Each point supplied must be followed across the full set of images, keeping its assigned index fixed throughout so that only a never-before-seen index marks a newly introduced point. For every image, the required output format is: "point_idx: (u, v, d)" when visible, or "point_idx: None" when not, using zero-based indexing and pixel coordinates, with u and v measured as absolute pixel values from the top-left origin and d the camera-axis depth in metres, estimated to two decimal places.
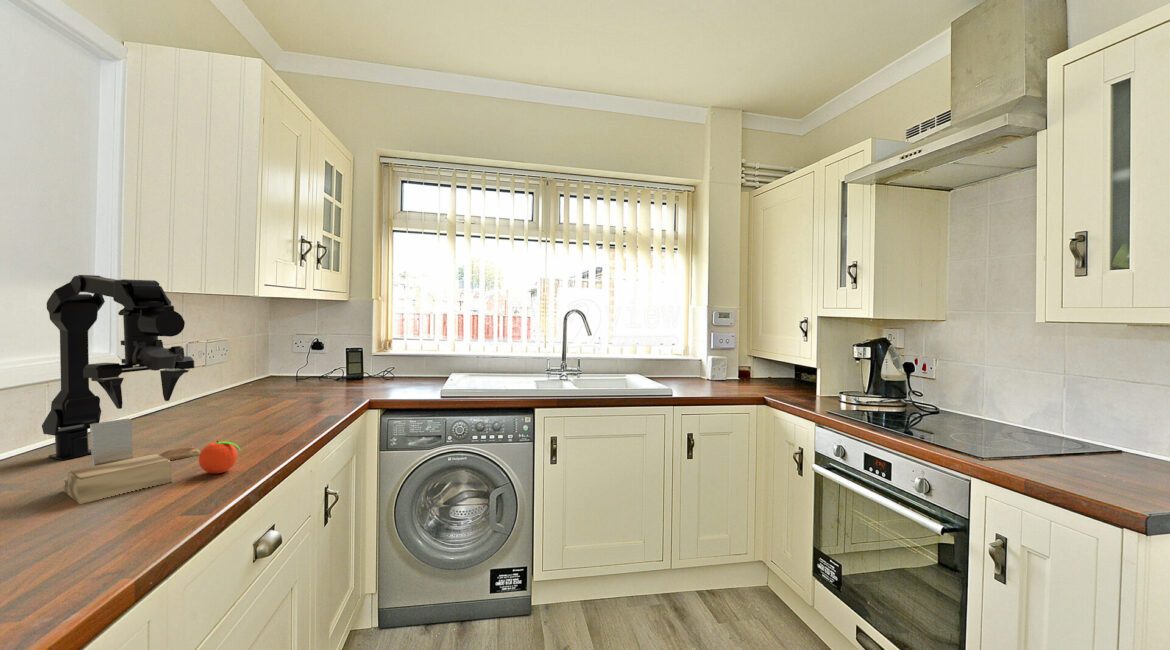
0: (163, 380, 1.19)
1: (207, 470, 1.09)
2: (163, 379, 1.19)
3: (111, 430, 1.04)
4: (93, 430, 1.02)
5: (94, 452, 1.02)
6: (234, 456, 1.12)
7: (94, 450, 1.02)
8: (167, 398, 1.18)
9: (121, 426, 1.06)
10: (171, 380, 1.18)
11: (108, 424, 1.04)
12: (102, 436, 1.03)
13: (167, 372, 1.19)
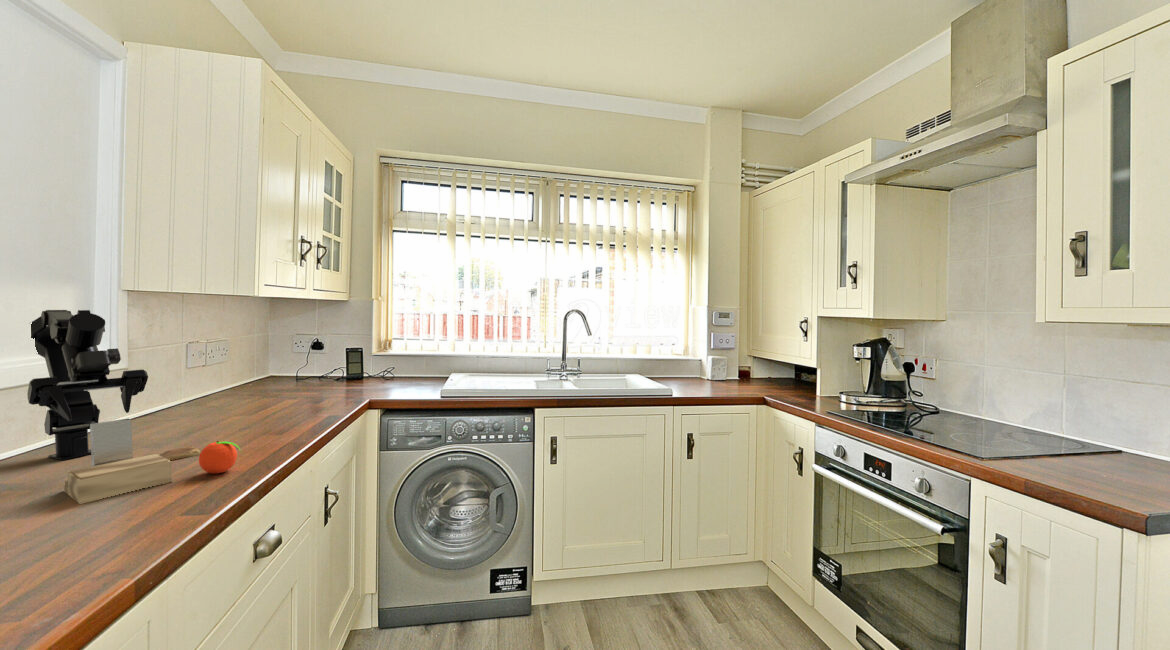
0: (122, 399, 1.16)
1: (207, 470, 1.09)
2: (122, 398, 1.16)
3: (111, 430, 1.04)
4: (93, 430, 1.02)
5: (94, 452, 1.02)
6: (234, 456, 1.12)
7: (94, 450, 1.02)
8: (126, 408, 1.13)
9: (121, 426, 1.06)
10: (125, 391, 1.15)
11: (108, 424, 1.04)
12: (102, 436, 1.03)
13: (123, 389, 1.16)
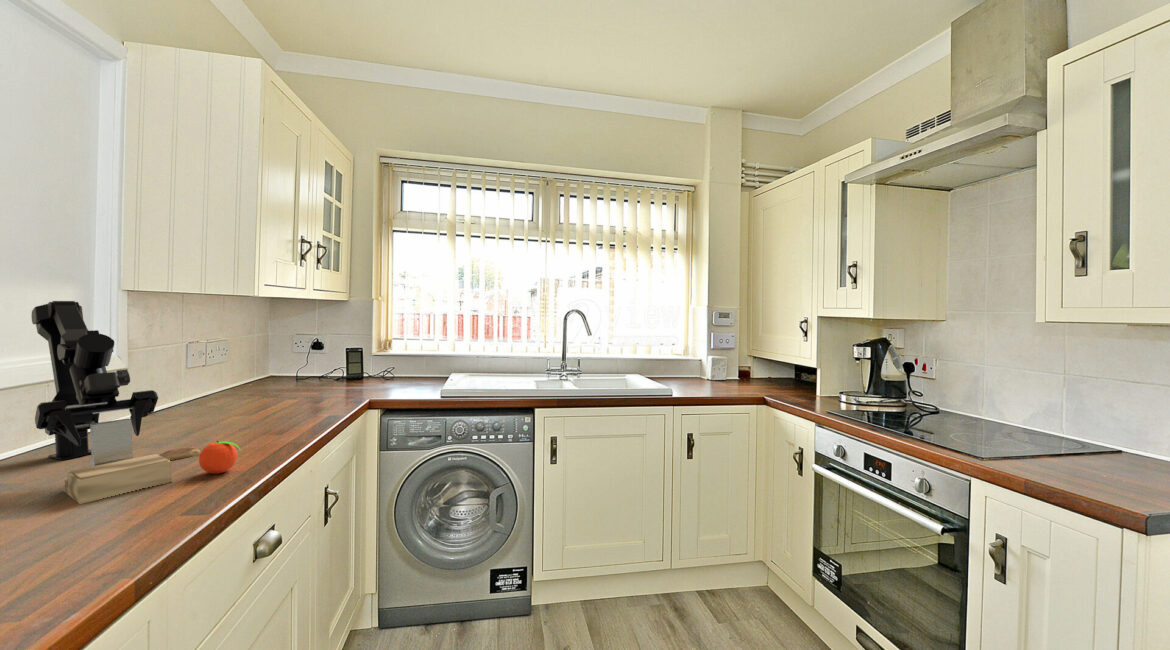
0: (132, 421, 1.12)
1: (207, 470, 1.09)
2: (132, 420, 1.12)
3: (111, 430, 1.04)
4: (93, 430, 1.02)
5: (94, 452, 1.02)
6: (234, 456, 1.12)
7: (94, 450, 1.02)
8: (136, 431, 1.10)
9: (121, 426, 1.06)
10: (135, 413, 1.11)
11: (108, 424, 1.04)
12: (102, 436, 1.03)
13: (132, 411, 1.13)
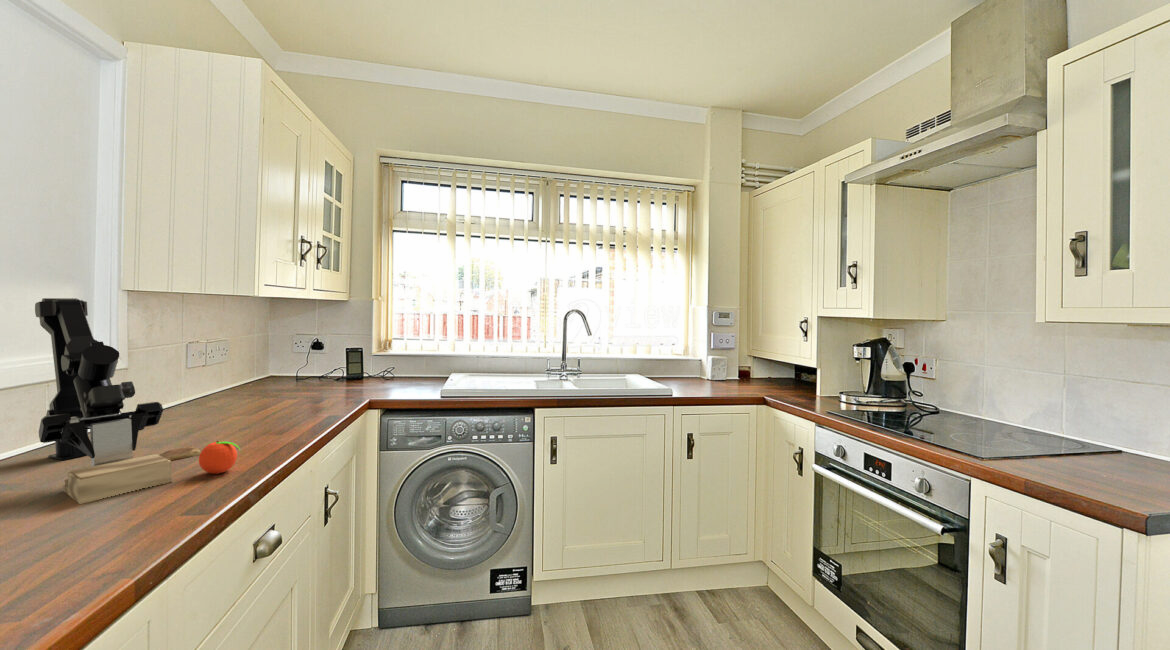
0: None
1: (207, 470, 1.09)
2: None
3: (111, 430, 1.04)
4: (93, 430, 1.02)
5: (94, 452, 1.02)
6: (234, 456, 1.12)
7: (94, 450, 1.02)
8: (133, 445, 1.07)
9: (121, 426, 1.06)
10: None
11: (108, 424, 1.04)
12: (102, 436, 1.03)
13: None
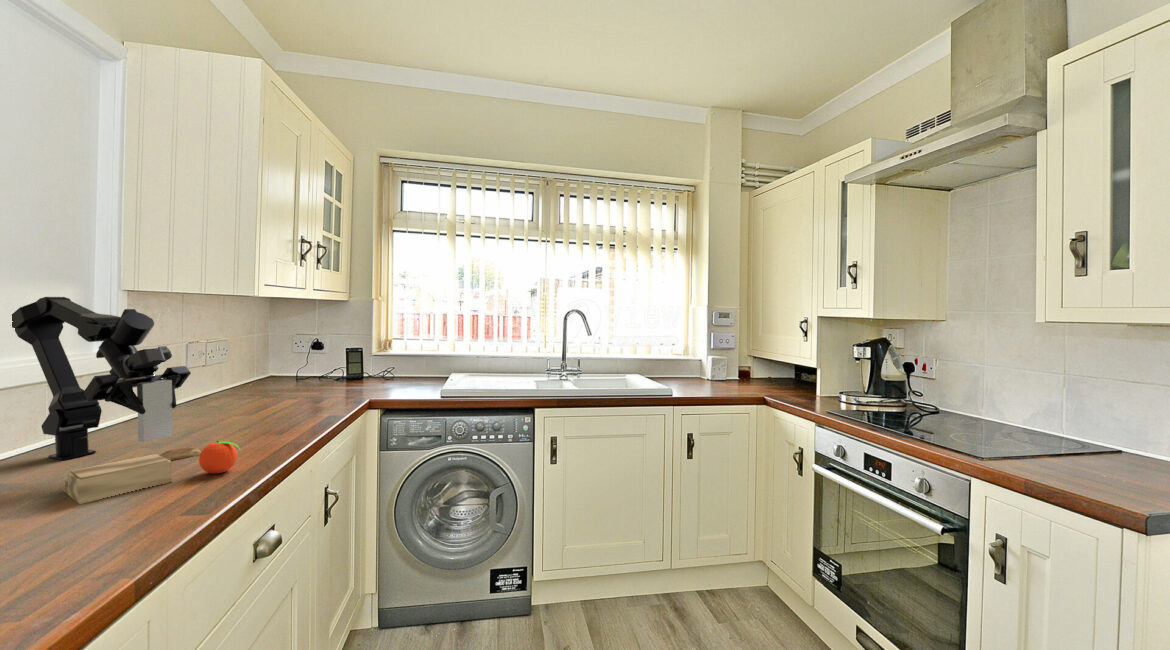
0: None
1: (207, 470, 1.09)
2: None
3: (156, 389, 1.14)
4: (143, 388, 1.12)
5: None
6: (234, 456, 1.12)
7: None
8: (173, 403, 1.17)
9: (164, 386, 1.16)
10: None
11: (154, 383, 1.14)
12: (149, 394, 1.13)
13: None
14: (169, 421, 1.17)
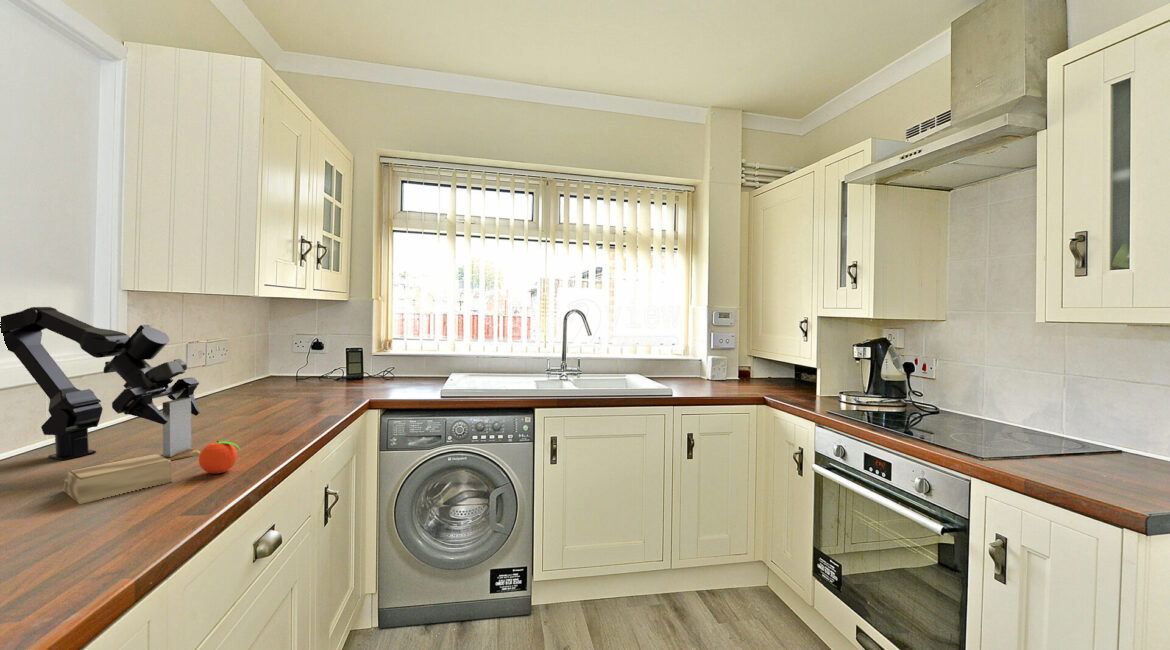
0: None
1: (207, 470, 1.09)
2: None
3: (180, 407, 1.22)
4: (169, 407, 1.20)
5: (170, 426, 1.20)
6: (234, 456, 1.12)
7: (170, 424, 1.20)
8: (197, 411, 1.27)
9: (185, 404, 1.24)
10: (189, 396, 1.27)
11: (178, 402, 1.22)
12: (175, 412, 1.21)
13: (180, 396, 1.28)
14: (188, 436, 1.25)
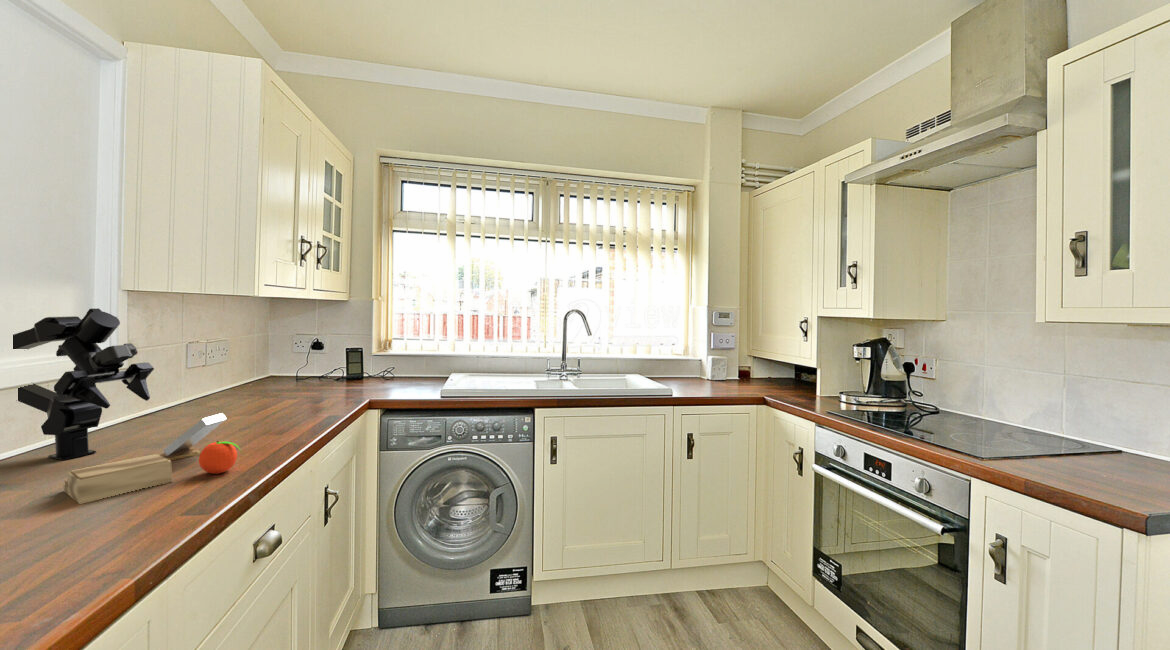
0: (134, 389, 1.27)
1: (207, 470, 1.09)
2: (133, 388, 1.27)
3: (211, 426, 1.22)
4: (203, 427, 1.19)
5: (189, 438, 1.20)
6: (234, 456, 1.12)
7: (191, 437, 1.20)
8: (147, 396, 1.26)
9: (217, 423, 1.24)
10: (140, 381, 1.26)
11: (213, 423, 1.21)
12: (203, 429, 1.21)
13: (133, 380, 1.27)
14: (196, 441, 1.25)
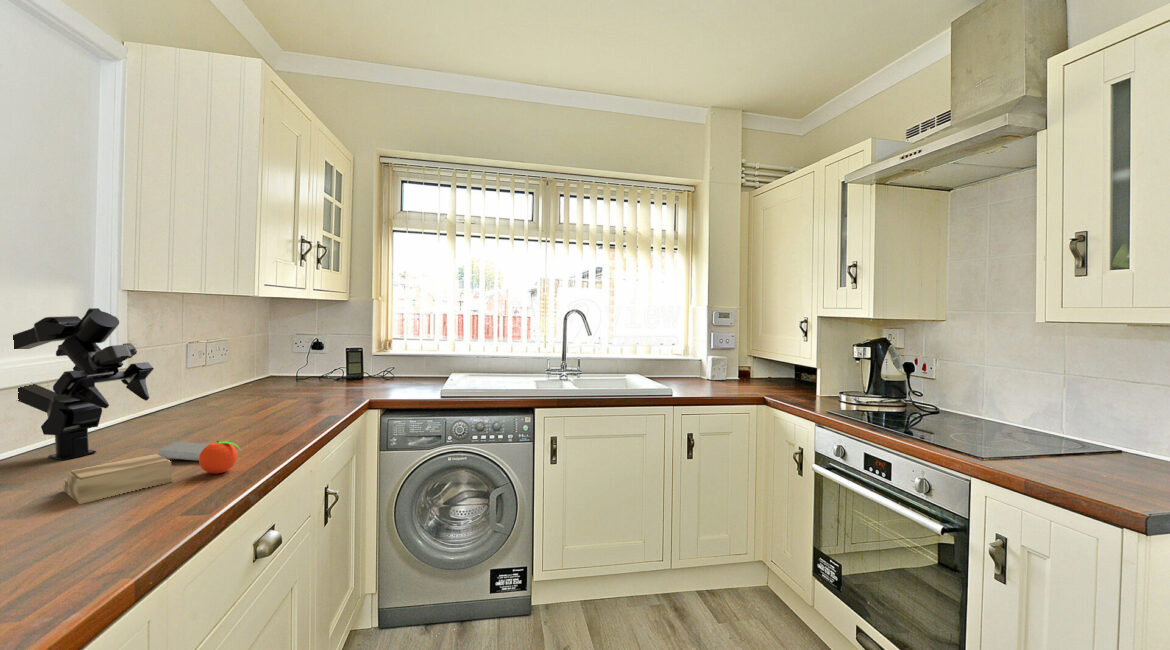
0: (133, 389, 1.27)
1: (207, 470, 1.09)
2: (133, 388, 1.27)
3: None
4: None
5: (191, 459, 1.19)
6: (234, 456, 1.12)
7: (193, 459, 1.19)
8: (146, 396, 1.26)
9: None
10: (139, 381, 1.26)
11: None
12: None
13: (132, 380, 1.27)
14: None
